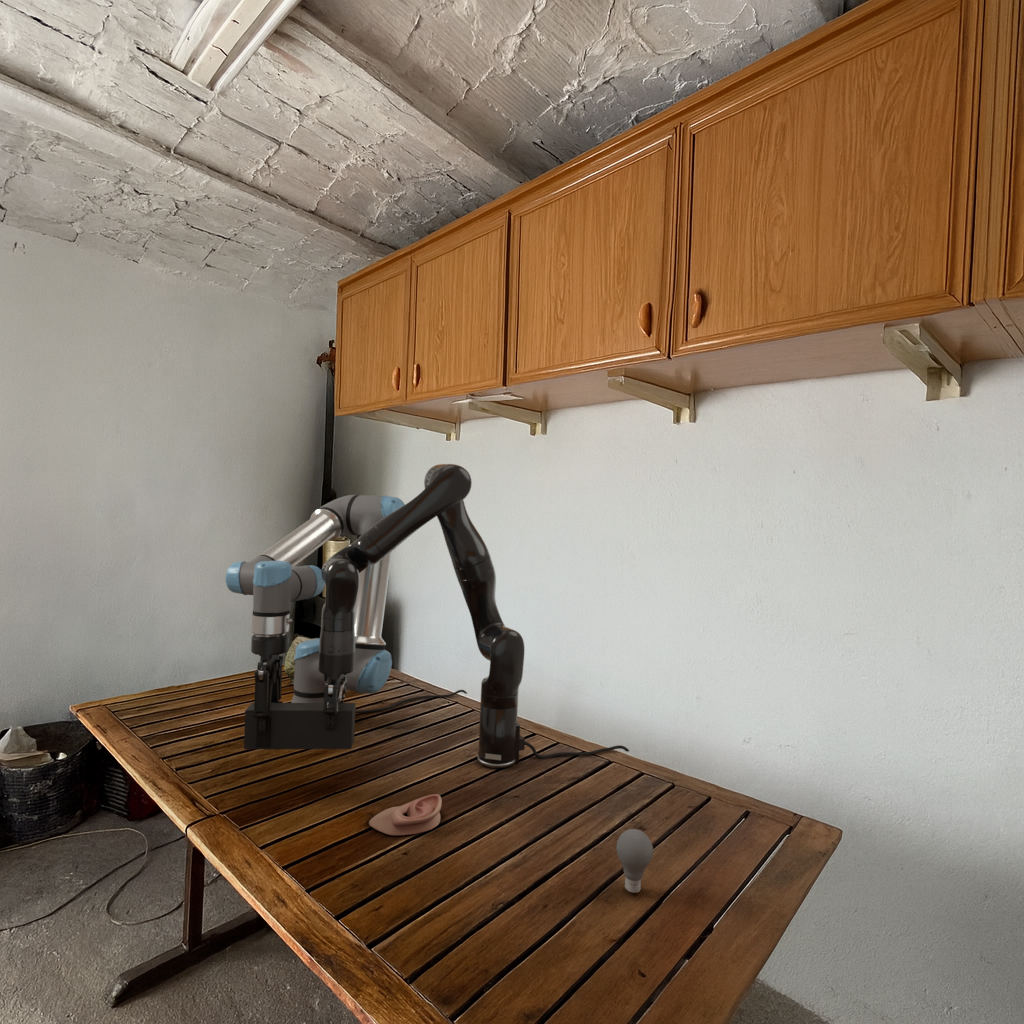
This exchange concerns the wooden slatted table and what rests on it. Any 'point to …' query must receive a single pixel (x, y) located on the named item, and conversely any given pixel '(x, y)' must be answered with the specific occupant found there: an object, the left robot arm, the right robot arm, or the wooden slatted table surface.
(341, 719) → the bar
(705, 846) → the wooden slatted table surface
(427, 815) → the anatomical model
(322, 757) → the wooden slatted table surface
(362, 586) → the left robot arm
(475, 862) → the wooden slatted table surface
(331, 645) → the right robot arm
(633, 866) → the light bulb
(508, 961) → the wooden slatted table surface
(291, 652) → the fossil
